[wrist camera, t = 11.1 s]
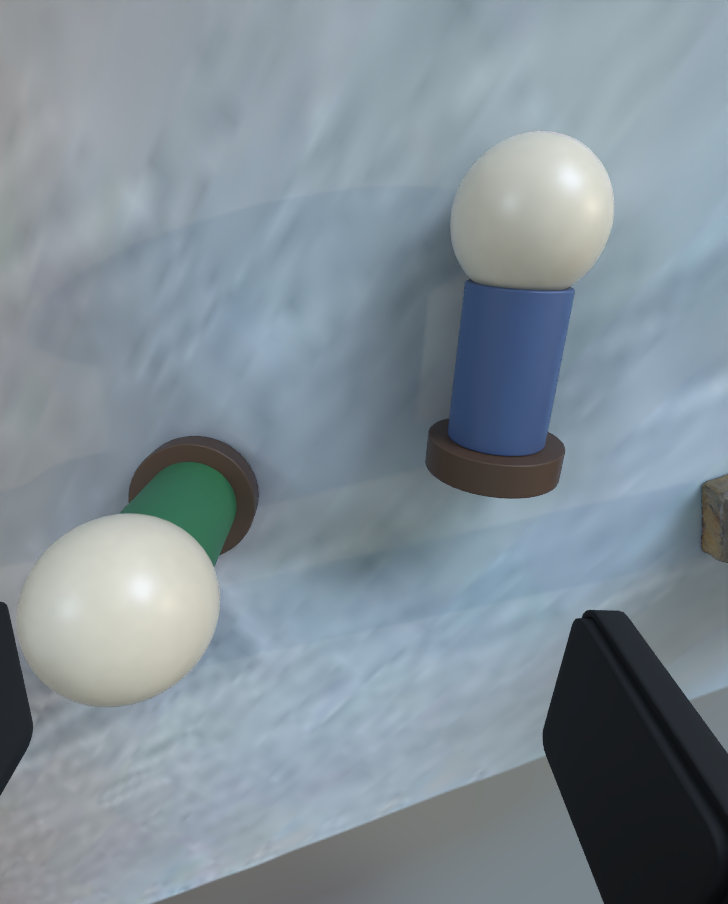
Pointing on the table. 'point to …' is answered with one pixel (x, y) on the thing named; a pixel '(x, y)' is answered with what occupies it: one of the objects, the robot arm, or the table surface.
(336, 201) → the table surface
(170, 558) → the green doll
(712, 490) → the worn brown figurine
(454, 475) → the blue doll
